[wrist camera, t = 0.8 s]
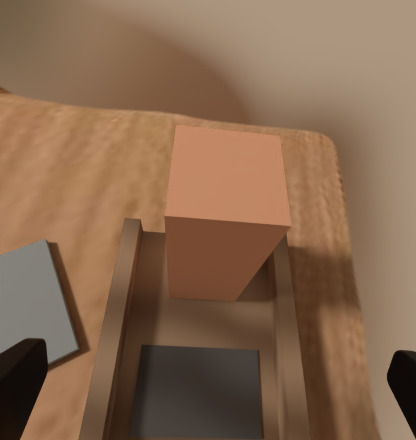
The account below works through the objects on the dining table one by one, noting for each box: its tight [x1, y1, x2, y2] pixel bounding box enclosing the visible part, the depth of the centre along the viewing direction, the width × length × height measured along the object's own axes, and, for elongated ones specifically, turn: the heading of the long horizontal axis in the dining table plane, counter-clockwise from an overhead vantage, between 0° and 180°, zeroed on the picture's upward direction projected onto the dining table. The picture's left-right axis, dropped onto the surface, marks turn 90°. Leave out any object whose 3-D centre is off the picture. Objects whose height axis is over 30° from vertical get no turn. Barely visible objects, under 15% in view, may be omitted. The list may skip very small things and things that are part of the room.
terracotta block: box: [165, 125, 291, 302], centre depth 17 cm, size 5×5×12 cm
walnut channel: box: [79, 218, 311, 440], centre depth 20 cm, size 14×13×3 cm
